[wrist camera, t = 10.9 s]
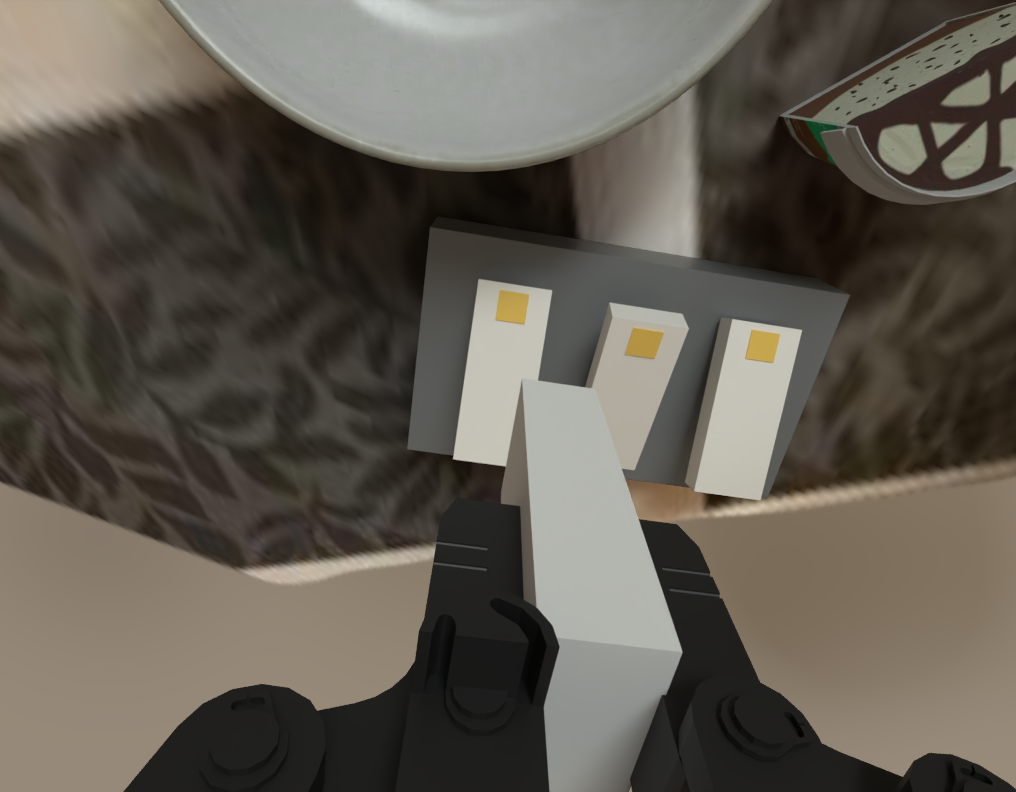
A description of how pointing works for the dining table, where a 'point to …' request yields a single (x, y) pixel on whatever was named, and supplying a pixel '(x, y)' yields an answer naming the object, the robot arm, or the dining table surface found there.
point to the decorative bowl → (467, 69)
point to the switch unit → (580, 316)
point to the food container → (923, 115)
